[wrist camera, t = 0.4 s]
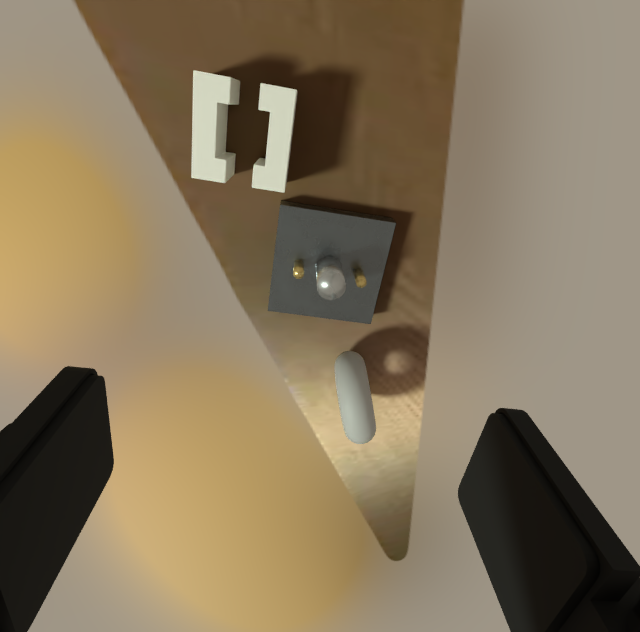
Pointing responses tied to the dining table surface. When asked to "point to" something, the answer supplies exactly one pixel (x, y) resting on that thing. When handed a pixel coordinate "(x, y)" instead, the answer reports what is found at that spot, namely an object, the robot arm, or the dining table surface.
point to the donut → (354, 397)
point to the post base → (328, 262)
